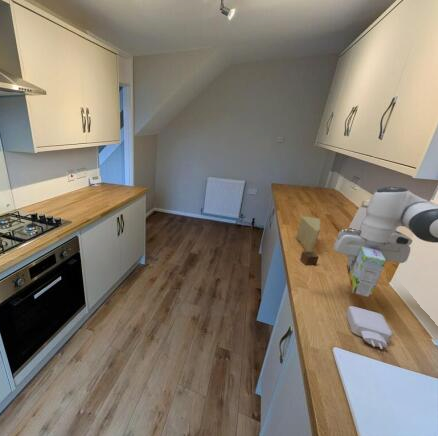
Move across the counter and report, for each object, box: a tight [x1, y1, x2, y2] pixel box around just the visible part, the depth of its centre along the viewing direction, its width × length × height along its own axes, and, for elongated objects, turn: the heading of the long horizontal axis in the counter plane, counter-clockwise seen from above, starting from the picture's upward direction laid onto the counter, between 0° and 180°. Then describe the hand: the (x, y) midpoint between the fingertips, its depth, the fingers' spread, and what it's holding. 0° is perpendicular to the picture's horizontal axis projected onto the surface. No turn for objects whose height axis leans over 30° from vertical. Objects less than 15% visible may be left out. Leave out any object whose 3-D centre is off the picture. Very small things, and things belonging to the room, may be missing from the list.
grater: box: [348, 199, 371, 231], centre depth 157 cm, size 10×10×20 cm
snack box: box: [346, 247, 387, 299], centre depth 87 cm, size 21×6×15 cm, turn 147°
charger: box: [345, 305, 394, 350], centre depth 76 cm, size 5×9×15 cm
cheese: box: [295, 216, 322, 253], centre depth 132 cm, size 22×10×15 cm, turn 154°
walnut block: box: [299, 251, 319, 267], centre depth 118 cm, size 5×5×5 cm
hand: (362, 267), depth 87 cm, fingers closed on snack box, 6 cm apart
